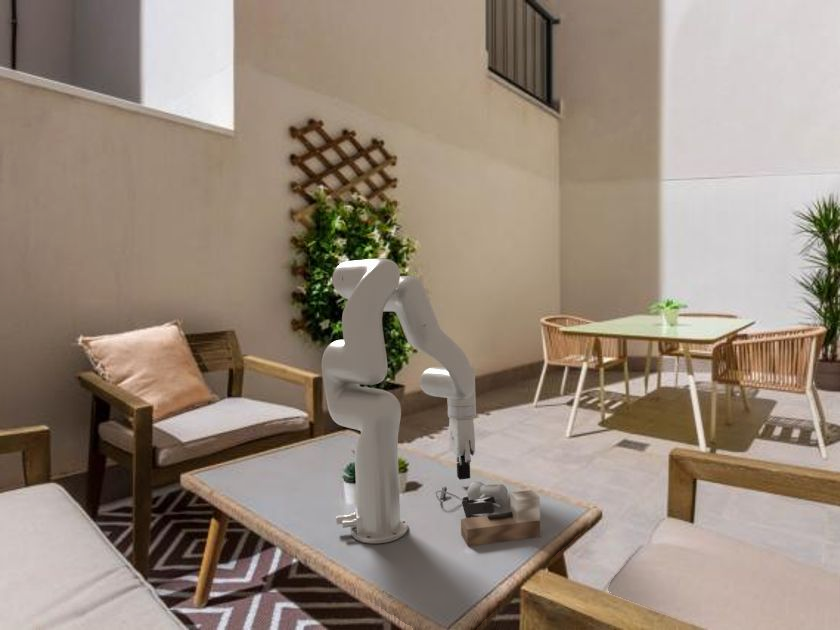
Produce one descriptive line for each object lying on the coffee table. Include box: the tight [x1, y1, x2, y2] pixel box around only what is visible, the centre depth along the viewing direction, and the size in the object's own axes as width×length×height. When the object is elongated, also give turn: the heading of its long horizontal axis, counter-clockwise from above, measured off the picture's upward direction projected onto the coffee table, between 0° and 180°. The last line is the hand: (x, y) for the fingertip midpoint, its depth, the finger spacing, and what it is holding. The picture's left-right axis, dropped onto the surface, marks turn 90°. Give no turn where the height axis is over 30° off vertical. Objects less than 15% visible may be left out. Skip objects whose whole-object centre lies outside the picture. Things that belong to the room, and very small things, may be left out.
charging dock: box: [460, 489, 541, 547], centre depth 111 cm, size 16×6×8 cm, turn 101°
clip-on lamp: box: [435, 481, 509, 518], centre depth 125 cm, size 12×6×18 cm
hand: (463, 477), depth 138 cm, fingers closed
